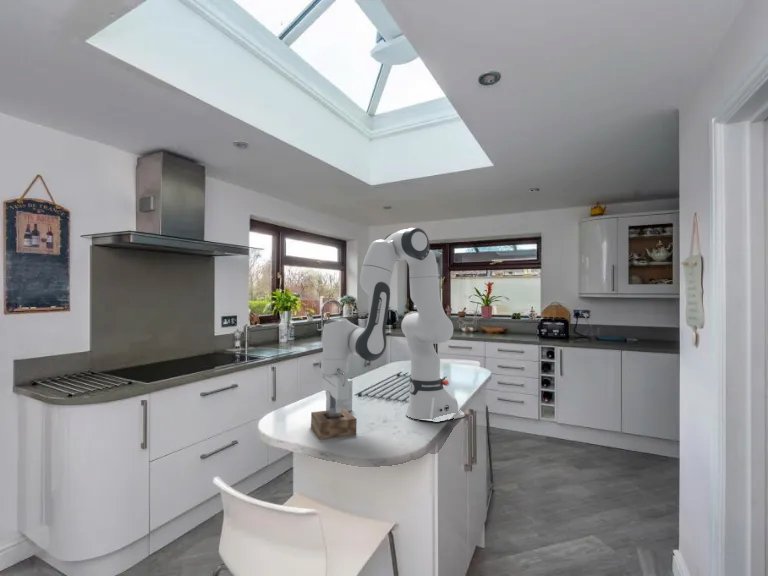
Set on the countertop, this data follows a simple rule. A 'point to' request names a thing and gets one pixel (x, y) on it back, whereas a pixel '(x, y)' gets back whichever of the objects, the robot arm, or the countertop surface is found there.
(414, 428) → the countertop surface
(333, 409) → the metal peg
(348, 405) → the skincare box
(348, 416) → the walnut socket block
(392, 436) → the countertop surface
